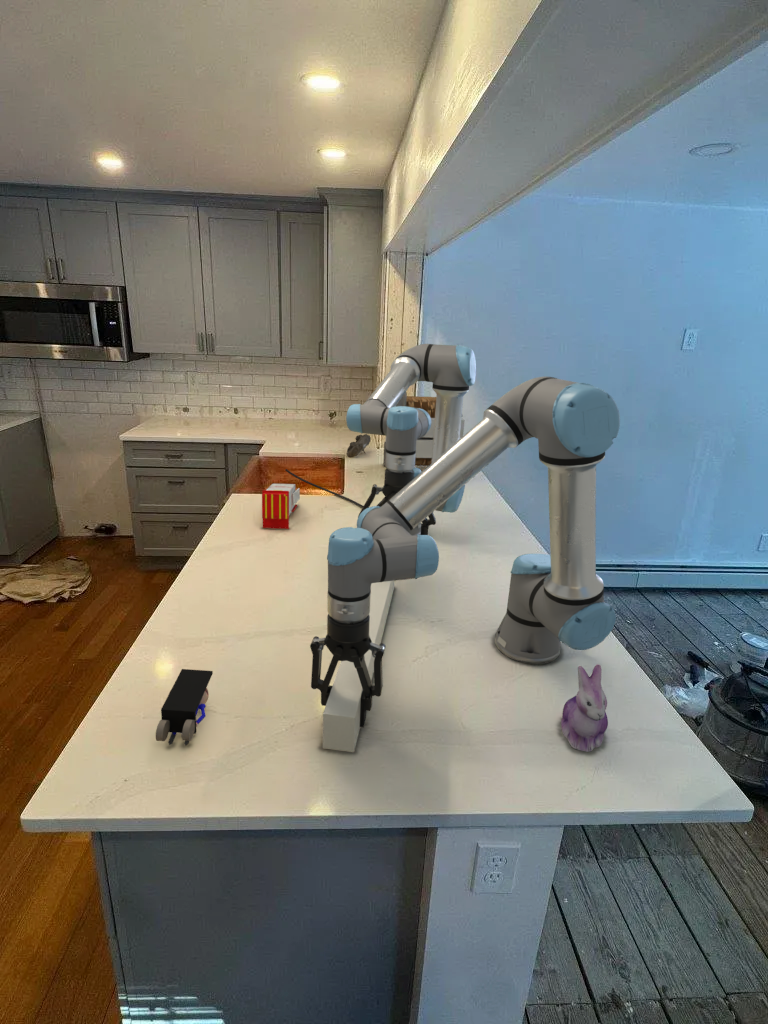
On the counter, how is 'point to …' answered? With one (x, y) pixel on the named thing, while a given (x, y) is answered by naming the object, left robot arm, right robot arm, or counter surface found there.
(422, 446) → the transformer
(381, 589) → the bar
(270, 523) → the toy
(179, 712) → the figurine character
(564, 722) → the figurine
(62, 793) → the counter surface
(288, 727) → the counter surface
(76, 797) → the counter surface
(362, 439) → the fossil
